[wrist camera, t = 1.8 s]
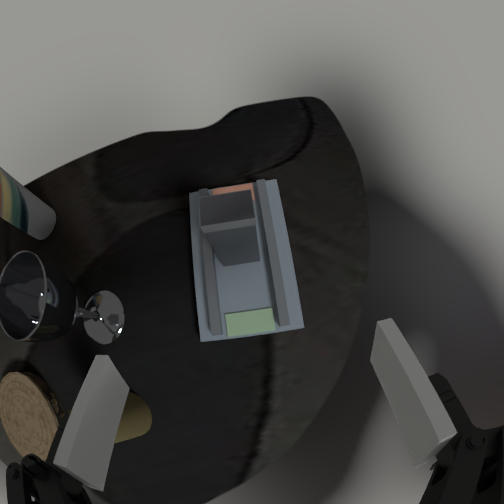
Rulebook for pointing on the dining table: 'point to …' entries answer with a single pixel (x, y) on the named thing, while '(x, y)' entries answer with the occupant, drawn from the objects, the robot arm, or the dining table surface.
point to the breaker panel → (246, 274)
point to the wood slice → (29, 413)
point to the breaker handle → (230, 226)
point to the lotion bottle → (24, 208)
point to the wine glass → (52, 303)
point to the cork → (133, 418)
